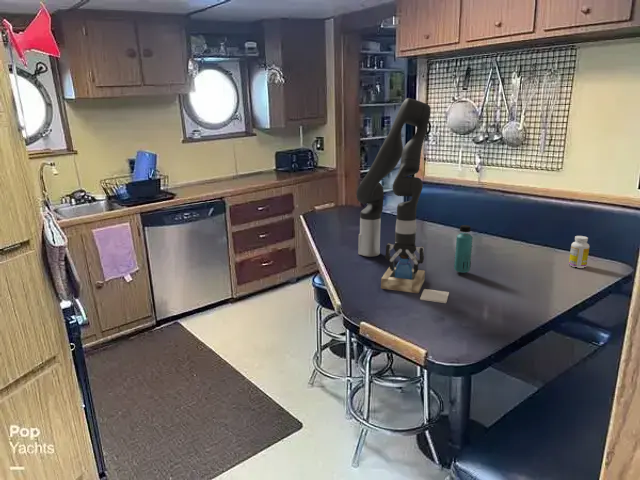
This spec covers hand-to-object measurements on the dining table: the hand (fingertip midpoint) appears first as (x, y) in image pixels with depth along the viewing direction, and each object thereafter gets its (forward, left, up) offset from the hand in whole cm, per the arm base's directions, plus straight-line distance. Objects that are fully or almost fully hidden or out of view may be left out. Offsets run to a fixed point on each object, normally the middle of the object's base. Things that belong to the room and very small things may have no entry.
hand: (403, 271), depth 176 cm
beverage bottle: (+20, +20, -5) cm, 29 cm away
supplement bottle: (+65, +45, -5) cm, 79 cm away
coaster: (+13, -8, -5) cm, 16 cm away
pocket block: (0, 0, -5) cm, 5 cm away
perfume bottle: (0, 0, -5) cm, 5 cm away
